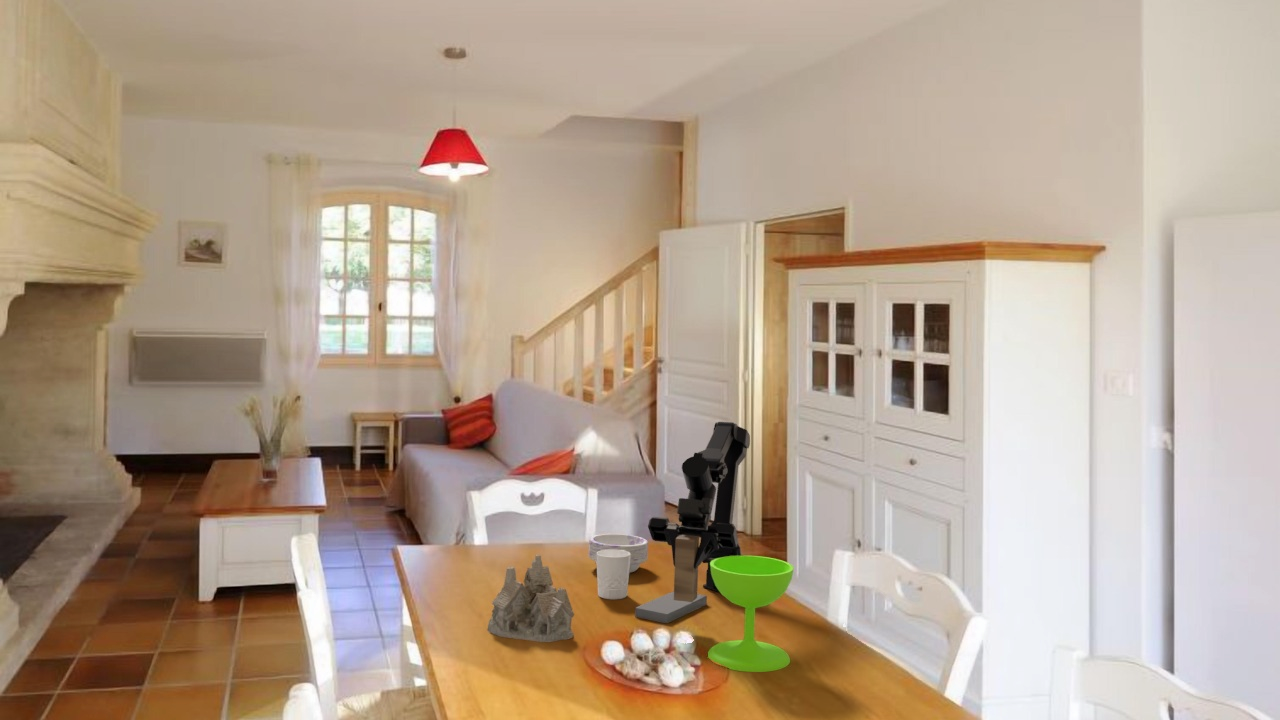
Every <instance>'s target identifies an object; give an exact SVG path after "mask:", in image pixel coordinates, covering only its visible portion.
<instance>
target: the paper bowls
mask: <svg viewBox="0 0 1280 720" xmlns="http://www.w3.org/2000/svg"><path fill="white" fill-rule="evenodd" d="M588 541H589V542H588V544H589V545H588V558H589V559H590V560H592V561H595V564H596V566H597V552H598V551H601V550H609V549H615V550H624V551H628V552H630V554H631V555H630V569H629V574H631V573H633V572H634V573H635V572H636V571H637V570H638V569H639V567H640V565H641V564H643V563H645V562H647V561H648V555H649V553H648V551H649V541H648V540H647V539H645V538H644V537H640V536H637V535H630V534H622V533H621V534H620V533H603V534H596V535H592V536H591V537H590V538H589V539H588Z"/></svg>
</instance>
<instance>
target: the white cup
mask: <svg viewBox="0 0 1280 720" xmlns="http://www.w3.org/2000/svg"><path fill="white" fill-rule="evenodd" d="M630 555H631V554H630V552H628V551H624V550H615V549H609V550H601V551H598V552H597V565H596V577H597V578H596V581H597V582H596V583H597V596H598V597H599V598H602V599H606V600H621V599H625V598H626V597H627V596H628V588H629V587H628V585H629V577H630V573H629V569H630Z"/></svg>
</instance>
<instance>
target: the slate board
mask: <svg viewBox="0 0 1280 720" xmlns="http://www.w3.org/2000/svg"><path fill="white" fill-rule="evenodd" d="M707 599H708V596H707V595H706V594H699V593H697V598H696V599H695V600H694V601H693V602H686V601H677V600H674V590H673V591H671V592H669V593H665V594H663V595H662V596H659V597H657V598H654V599H652V600H650V601H648V602H646V603H642V604H641V605H639V606H636V607H635V610H634V611H635V612H634V616H635V618H640V619H645V620H649V621H654V622H658V623H664V624H669V623H671V622H673V621H676V620H677V619H679V618H681V617H683V616H686V615H688V614H691V612H694V611H696V610H698V609H700V608H703V607H705V606H706V605H707V603H708V602H707V601H708V600H707Z"/></svg>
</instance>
